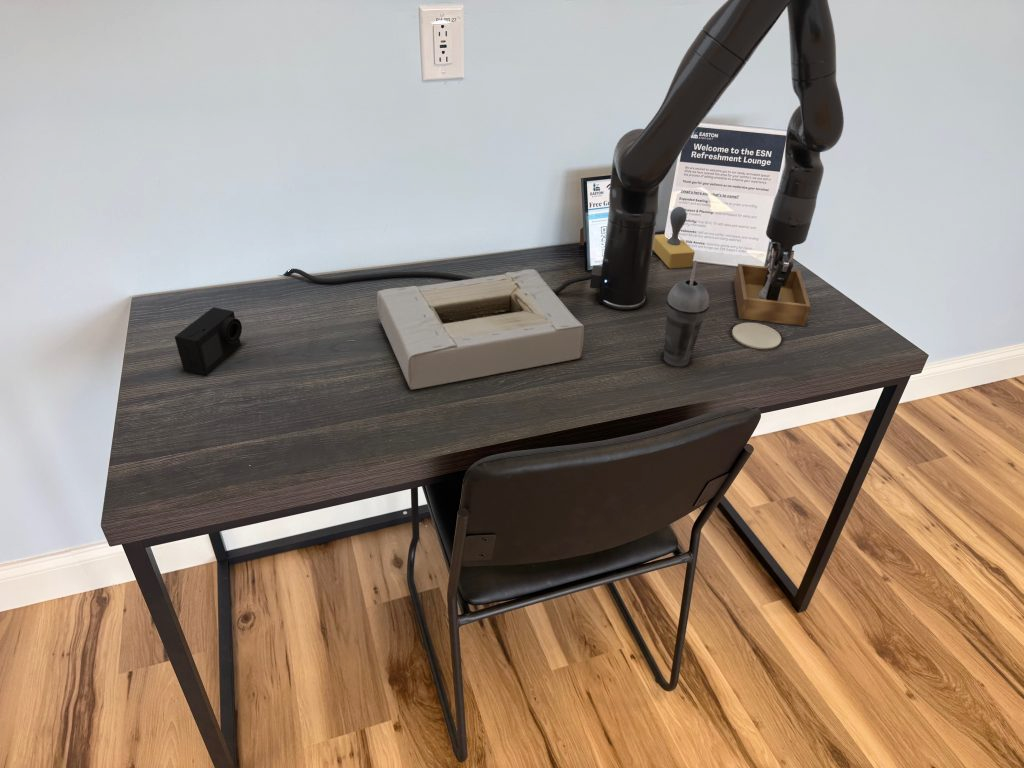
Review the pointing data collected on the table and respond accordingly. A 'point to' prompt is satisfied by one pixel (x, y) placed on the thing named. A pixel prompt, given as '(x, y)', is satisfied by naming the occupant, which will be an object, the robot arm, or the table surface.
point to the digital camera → (208, 340)
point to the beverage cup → (684, 319)
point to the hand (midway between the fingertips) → (770, 294)
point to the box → (477, 327)
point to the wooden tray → (785, 311)
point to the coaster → (756, 335)
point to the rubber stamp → (674, 243)
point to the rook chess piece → (764, 290)
